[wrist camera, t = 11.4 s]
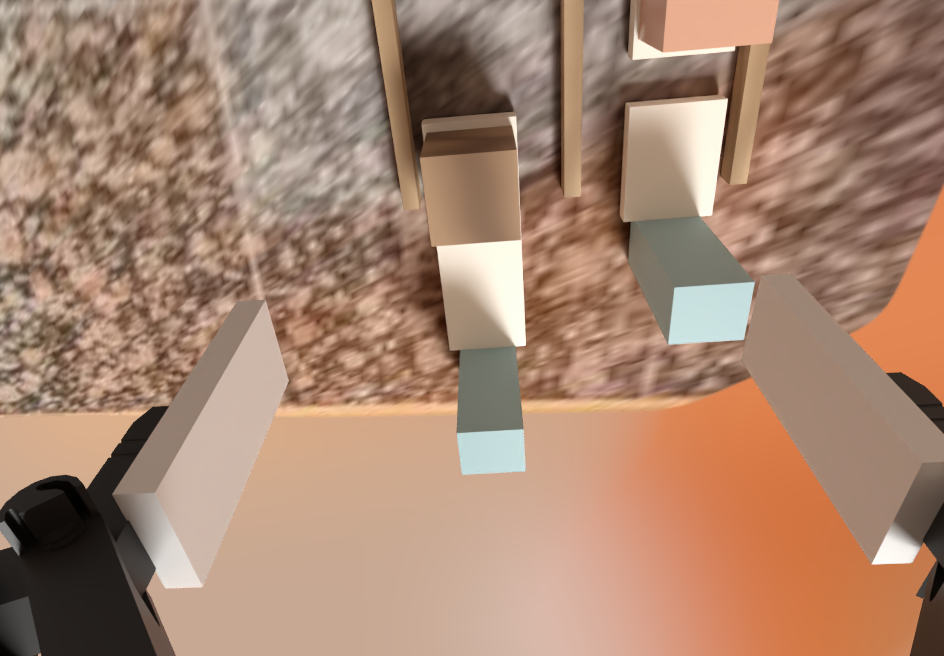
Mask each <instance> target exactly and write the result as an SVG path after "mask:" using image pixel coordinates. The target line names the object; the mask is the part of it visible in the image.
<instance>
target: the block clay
mask: <svg viewBox="0 0 944 656" xmlns="http://www.w3.org/2000/svg"><path fill="white" fill-rule="evenodd" d="M778 4H779V0H641V3H640V20H639V37H638V40H640V41H642V42H644V43H646V44H648V45H650V46H651V47H653V48H655V49H657V50H659V51H661V52H662V53H665V52H677V51H688V50H699V49H710V48H722V47H733V46H744V45H755V44H766V43H772V39H773V33H774V28H775V22H776V16H777V10H778Z"/></svg>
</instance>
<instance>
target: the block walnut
mask: <svg viewBox="0 0 944 656" xmlns="http://www.w3.org/2000/svg"><path fill="white" fill-rule="evenodd" d="M420 163H421V171H422V179H423V186H424V194H425V201H426V209H427V217H428V224H429V232H430V240H431V247H434V246H448V245H461V244H475V243H488V242H502V241H515V240H521V230H520V207H519V184H518V160H517V147H516V142H515V137H514V132H513V127H512V126H501V127H489V128H477V129H465V130H453V131H441V132H429V133H426V137H425V141H424V144H423V148H422V152H421V155H420Z"/></svg>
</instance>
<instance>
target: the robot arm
mask: <svg viewBox="0 0 944 656" xmlns="http://www.w3.org/2000/svg"><path fill="white" fill-rule="evenodd" d="M741 361H742V362H743V364H744V365H745V367H746V368H747V370H748V372H749V373H750V375H751V376H752V378H753V379H754V381H755V383H756V384H757V386H758V387H759V389H760V390H761V392H762V393H763V395H764V397H765V398H766V400H767V401H768V403H769V404H770V406H771V407H772V409H773V411H774V412H775V414H776V415H777V417H778V419H779V420H780V422H781V423H782V425H783V426H784V428H785V430H786V431H787V433H788V434H789V436H790V437H791V439H792V440H793V442H794V444H795V445H796V447H797V448H798V450H799V451H800V453H801V454H802V456H803V458H804V459H805V461H806V462H807V464H808V466H809V467H810V469H811V470H812V472H813V473H814V475H815V476H816V478H817V480H818V481H819V483H820V484H821V486H822V487H823V489H824V491H825V492H826V494H827V495H828V497H829V498H830V500H831V502H832V503H833V505H834V506H835V508H836V509H837V511H838V513H839V514H840V516H841V517H842V519H843V520H844V522H845V523H846V525H847V527H848V528H849V530H850V531H851V533H852V534H853V536H854V538H855V539H856V541H857V542H858V544H859V545H860V547H861V549H862V550H863V552H864V553H865V555H866V556H867V558H868V559H869V561H870V563H871V564H891V563H892V564H894V563H912V562H913V560H914V558H915V557H916V555H917V553H918V551H919V550H920V548H921V546H922V544H923V543H925V544H926V546H927V547H928V548H929V550H930V551H931V552H932V554H933V555H934V556H935V558H936V559H937V561H936V562H935V564H934V566H933V567H932V569H931V571H930V573H929V574H928V576H927V577H926V579H925V581H924V582H923V584H922V586H921V588H920V589H919V591H918V593H917V594H916V596H918V597H920V598H924V599H923V603H922V608H921V611H920V616H919V620H918V624H917V628H916V632H915V637H914V640H913V645H912V649H911V653H910V656H944V407H943V406H942V403H941V402H940V401H939V400H938V399H937V398H936V397H935V396H934V395H933V394H932V393H931V392H930V391H929V390H928V389H927V388H926V387H925V386H923V385H922V384H920V383H918V382H916V381H915V380H913V379H911V378H909V377H908V376H906V375H904V374H903V373H901V372H899V373H885V372H884V371H883V370H882V369H881V368H880V367H879V366H878V364H877V363H876V362H875V361H874V360H873V359H872V358H871V357H870V356H869V355H868V354H867V353H866V352H865V351H864V350H863V349H862V348H861V347H860V346H859V345H858V344H857V343H856V342H855V341H854V339H853V338H852V337H851V336H850V335H849V334H848V333H847V332H846V331H845V330H844V329H843V328H842V327H841V326H840V325H839V324H838V322H837V321H836V320H835V319H834V318H833V317H832V316H831V315H830V314H829V313H828V312H827V311H826V310H825V309H824V308H823V307H822V306H821V305H820V304H819V303H818V301H817V300H816V299H815V298H814V297H813V296H812V295H811V294H810V293H809V292H808V291H807V290H806V289H805V288H804V287H803V286H802V285H801V284H800V283H799V282H798V280H797V279H796V278H795V277H794V276H793V275H792V274H780V275H761V280H760V284H759V288H758V292H757V297H756V301H755V305H754V309H753V314H752V318H751V322H750V326H749V330H748V335H747V339H746V343H745V347H744V352H743V356H742V360H741ZM288 381H289V380H288V377H287V373H286V370H285V366H284V363H283V359H282V356H281V352H280V349H279V345H278V342H277V338H276V335H275V331H274V328H273V324H272V321H271V317H270V314H269V311H268V307H267V304H266V300H256V301H237V303H236V304H235V306H234V307H233V309H232V310H231V312H230V314H229V315H228V317H227V318H226V320H225V321H224V323H223V324H222V326H221V327H220V329H219V330H218V332H217V334H216V335H215V337H214V338H213V340H212V341H211V343H210V344H209V346H208V347H207V349H206V351H205V352H204V354H203V355H202V357H201V358H200V360H199V361H198V363H197V364H196V366H195V367H194V369H193V371H192V372H191V374H190V375H189V377H188V378H187V380H186V381H185V383H184V384H183V386H182V387H181V389H180V391H179V392H178V394H177V395H176V397H175V398H174V400H173V401H172V403H171V404H170V406H161V407H152V408H151V409H150V410H148V411H147V412H146V413H145V414H143V415H142V416H141V417H140V418H138V419H137V420H136V421H135V422H133V424H132V425H131V427H130V428H129V429H128V431H127V433H126V434H125V435H124V437H123V438H122V439H121V443H119V444H118V445H117V447H116V448H115V449H114V451H113V452H112V454H111V458H108V459H107V461H106V462H105V464H104V465H103V467H102V468H101V469H100V471H99V473H98V474H97V475H96V477H95V478H94V479H93V481H92V482H91V484H90V485H89V487H88V488H87V489H86V488H85V486H84V485H83V483H82V482H81V481H80V480H79V479H78V478H77V477H73V476H69V475H60V476H52V477H49V478H46V479H43V480H40V481H37V482H35V483H33V484H31V485H29V486H28V487H26V488H24V489H22V490H20V491H19V492H18V493H16V494H15V495H14V496H13V497H12V498H11V499H10V500H8V501H7V502H6V503H5V505H4V506H3V507H2V509H1V510H0V531H1V533H2V534H3V535H4V537H5V538H6V539H7V541H8V542H9V543H10V544H11V546H12V547H10V548H7V549H3V550H0V656H38V654H39V653H41V656H176V655H175V653H174V651H173V648H172V646H171V644H170V641H169V639H168V637H167V634H166V632H165V629H164V627H163V625H162V622H161V620H160V617H159V615H158V613H157V610H156V608H155V606H154V603H153V601H152V599H151V597H150V595H149V593H148V592H147V590H146V588H147V586H148V584H149V582H150V580H151V578H152V576H153V574H154V572H155V571H156V573H157V575H158V576H159V578H160V580H161V582H162V583H163V585H164V587H165V588H189V587H191V588H193V587H203V586H204V583H205V581H206V578H207V576H208V574H209V571H210V569H211V566H212V564H213V562H214V559H215V557H216V554H217V552H218V550H219V547H220V545H221V542H222V540H223V538H224V535H225V533H226V530H227V528H228V526H229V523H230V521H231V518H232V516H233V514H234V511H235V509H236V506H237V504H238V502H239V499H240V497H241V494H242V492H243V489H244V487H245V485H246V482H247V480H248V478H249V475H250V473H251V470H252V468H253V466H254V463H255V460H256V458H257V456H258V453H259V451H260V448H261V446H262V444H263V441H264V439H265V437H266V434H267V432H268V429H269V427H270V425H271V422H272V420H273V417H274V415H275V413H276V410H277V408H278V405H279V403H280V401H281V398H282V396H283V393H284V391H285V389H286V386H287V384H288Z"/></svg>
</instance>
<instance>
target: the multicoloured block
mask: <svg viewBox="0 0 944 656" xmlns="http://www.w3.org/2000/svg"><path fill="white" fill-rule="evenodd" d="M421 125H422V133H423V141H425V137H426V133H429V132H441V131H453V130H465V129H477V128H489V127H501V126H512V127H513V132H514V137H515V142H516V147H517V127H516V114H515V112H504V113H492V114H480V115H469V116H457V117H445V118H433V119H423V121H422V124H421ZM517 160H518V150H517ZM518 184H519V174H518ZM519 207H520V197H519ZM520 230H521V221H520ZM437 253H438V261H439V268H440V276H441V284H442V292H443V300H444V308H445V316H446V324H447V332H448V340H449V348H450V351H452V350H460V365H459V389H458V413H457V440H458V447H459V455H460V462H461V470H462V474H463V475H466V474H485V473H503V472H521V471H526V470H525V449H524V429H523V419H522V408H521V398H520V388H519V378H518V368H517V357H516V347H515V346H526V338H525V314H524V291H523V267H522V244H521V240H515V241H502V242H488V243H475V244H461V245H448V246H437Z"/></svg>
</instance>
